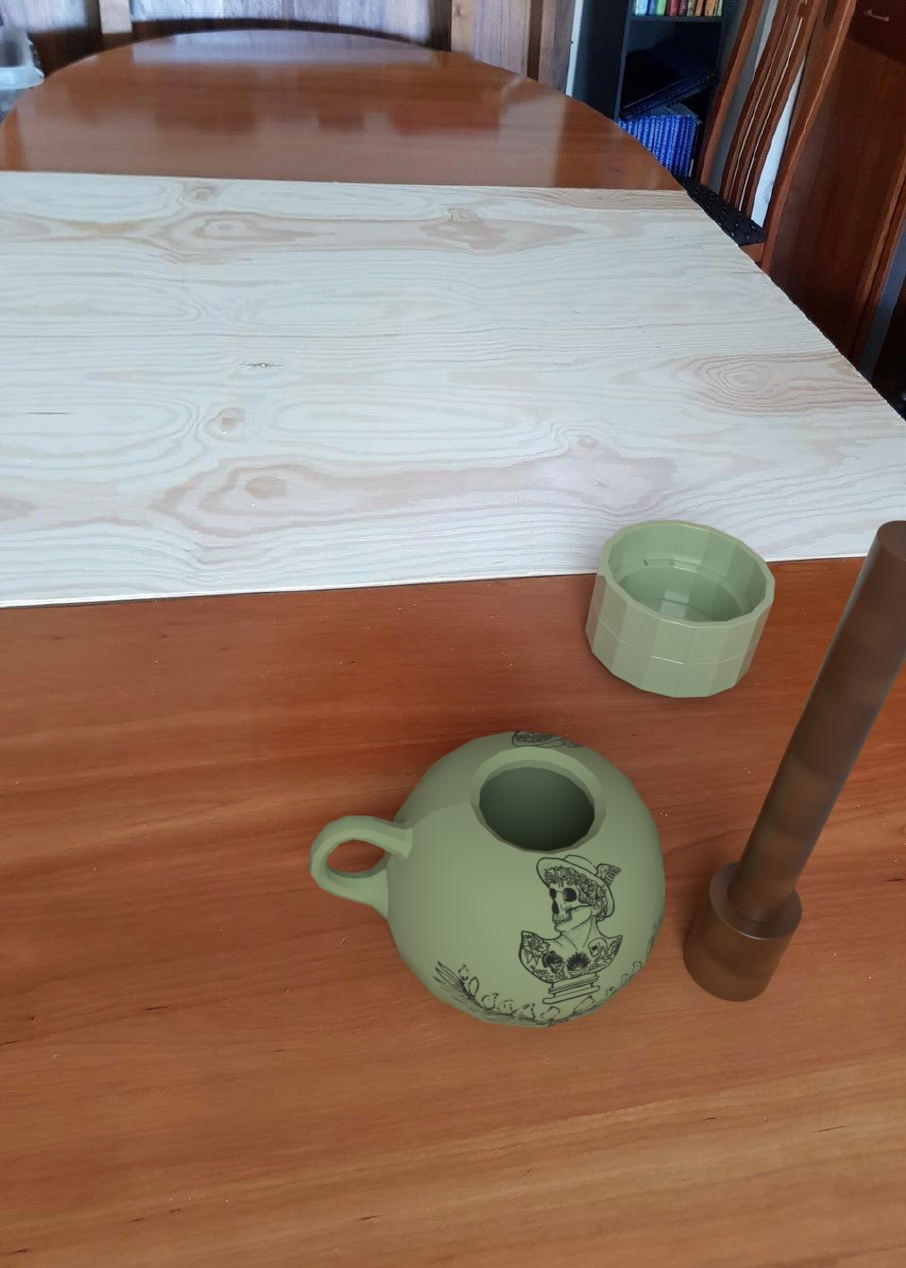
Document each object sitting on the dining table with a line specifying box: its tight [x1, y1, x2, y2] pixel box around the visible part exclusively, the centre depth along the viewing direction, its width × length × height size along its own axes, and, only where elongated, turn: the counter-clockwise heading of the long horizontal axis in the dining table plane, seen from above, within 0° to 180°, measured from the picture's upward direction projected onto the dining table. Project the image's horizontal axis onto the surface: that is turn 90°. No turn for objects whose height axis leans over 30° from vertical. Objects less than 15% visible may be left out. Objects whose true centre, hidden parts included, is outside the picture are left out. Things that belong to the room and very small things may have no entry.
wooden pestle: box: [683, 519, 906, 1003], centre depth 41 cm, size 4×4×24 cm
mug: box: [307, 730, 667, 1029], centre depth 47 cm, size 16×13×9 cm
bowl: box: [584, 519, 776, 699], centre depth 63 cm, size 10×10×6 cm
